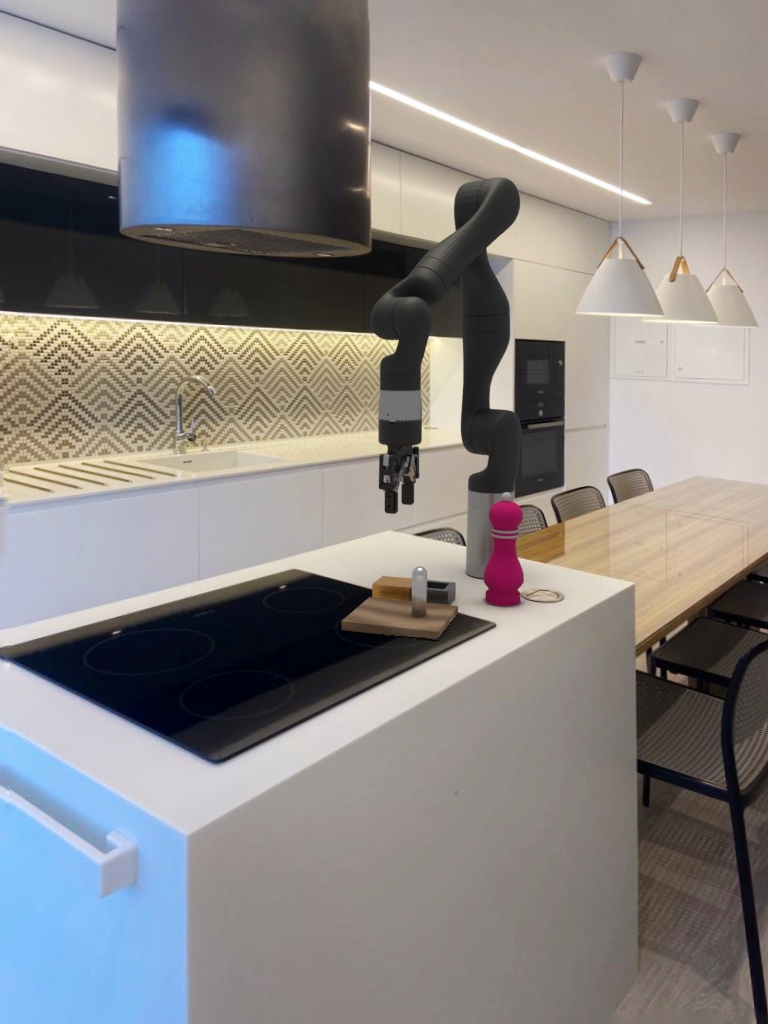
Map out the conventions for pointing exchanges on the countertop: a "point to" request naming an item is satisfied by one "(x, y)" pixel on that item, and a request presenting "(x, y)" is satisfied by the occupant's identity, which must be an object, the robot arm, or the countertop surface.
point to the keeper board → (399, 618)
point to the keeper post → (419, 592)
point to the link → (403, 590)
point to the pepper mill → (504, 554)
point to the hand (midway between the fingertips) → (399, 508)
